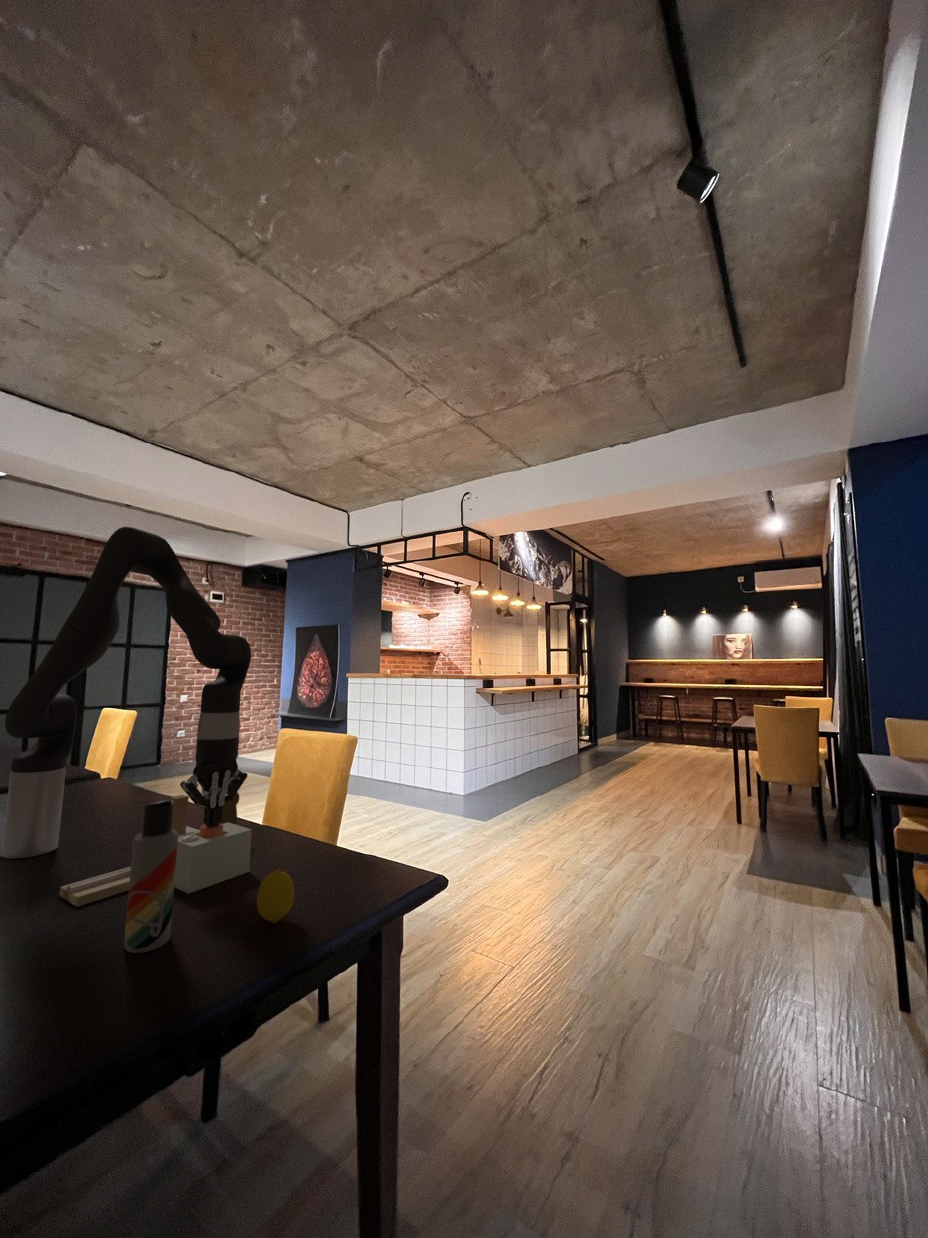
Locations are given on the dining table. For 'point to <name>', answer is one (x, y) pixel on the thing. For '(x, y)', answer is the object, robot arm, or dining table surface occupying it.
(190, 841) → the cabinet
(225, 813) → the dark brown knob shape
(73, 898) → the rail
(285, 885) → the lemon
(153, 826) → the lotion bottle
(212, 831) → the gauge plunger
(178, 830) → the carriage
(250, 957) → the dining table surface
